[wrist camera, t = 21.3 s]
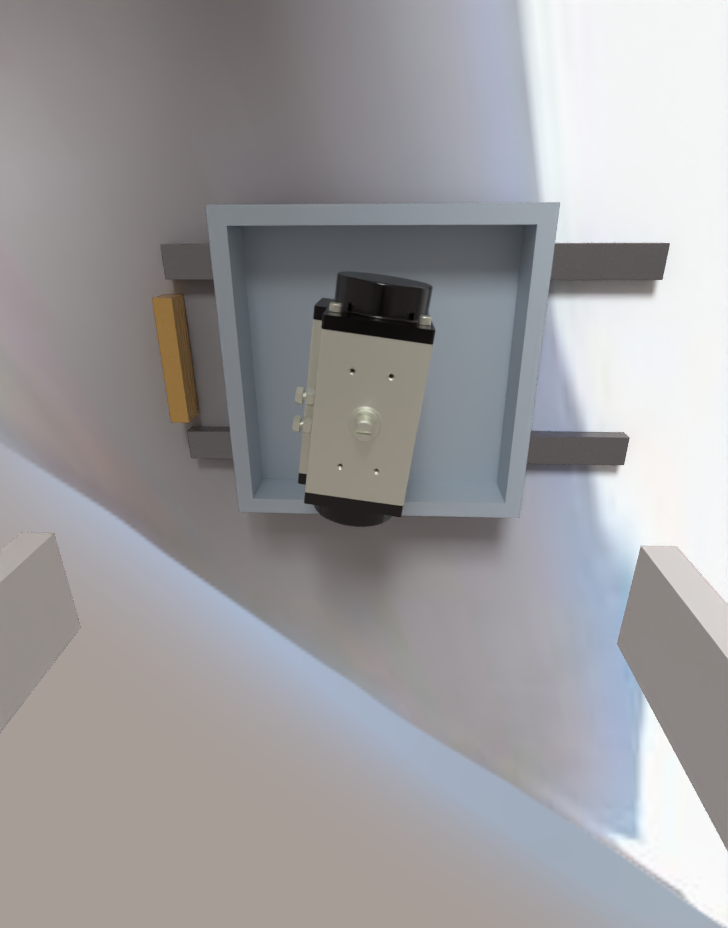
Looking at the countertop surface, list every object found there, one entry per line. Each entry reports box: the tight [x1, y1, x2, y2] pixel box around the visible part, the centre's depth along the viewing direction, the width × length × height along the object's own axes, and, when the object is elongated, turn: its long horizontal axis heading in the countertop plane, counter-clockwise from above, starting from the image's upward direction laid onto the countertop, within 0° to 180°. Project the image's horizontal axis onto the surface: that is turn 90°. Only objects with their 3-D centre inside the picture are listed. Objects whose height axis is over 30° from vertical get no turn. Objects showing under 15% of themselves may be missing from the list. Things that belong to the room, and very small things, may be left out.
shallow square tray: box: [205, 202, 560, 518], centre depth 33 cm, size 18×18×4 cm
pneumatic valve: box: [292, 271, 436, 527], centre depth 28 cm, size 6×12×12 cm, turn 172°
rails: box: [152, 243, 670, 465], centre depth 35 cm, size 14×31×2 cm, turn 90°
